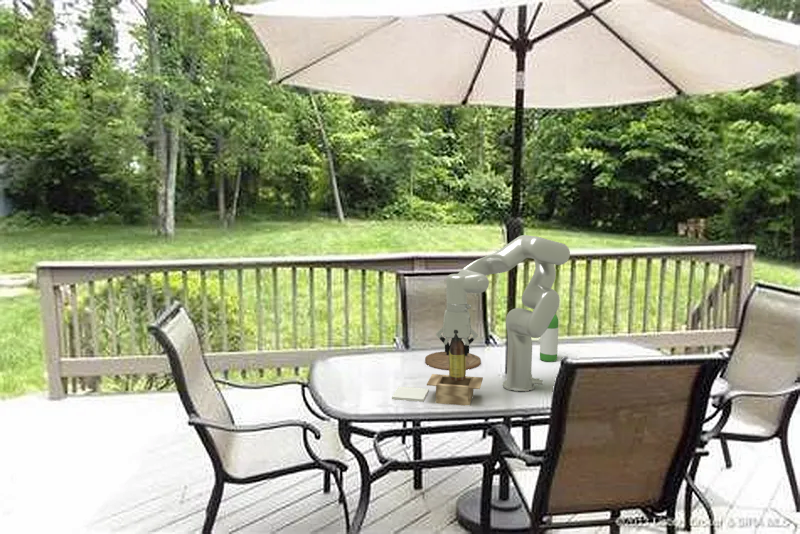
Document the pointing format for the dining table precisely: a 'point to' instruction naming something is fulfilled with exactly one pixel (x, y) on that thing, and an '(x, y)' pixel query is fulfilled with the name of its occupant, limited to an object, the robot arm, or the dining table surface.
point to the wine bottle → (549, 342)
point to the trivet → (442, 361)
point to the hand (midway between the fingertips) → (457, 354)
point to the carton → (454, 389)
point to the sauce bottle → (457, 358)
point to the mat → (410, 394)
